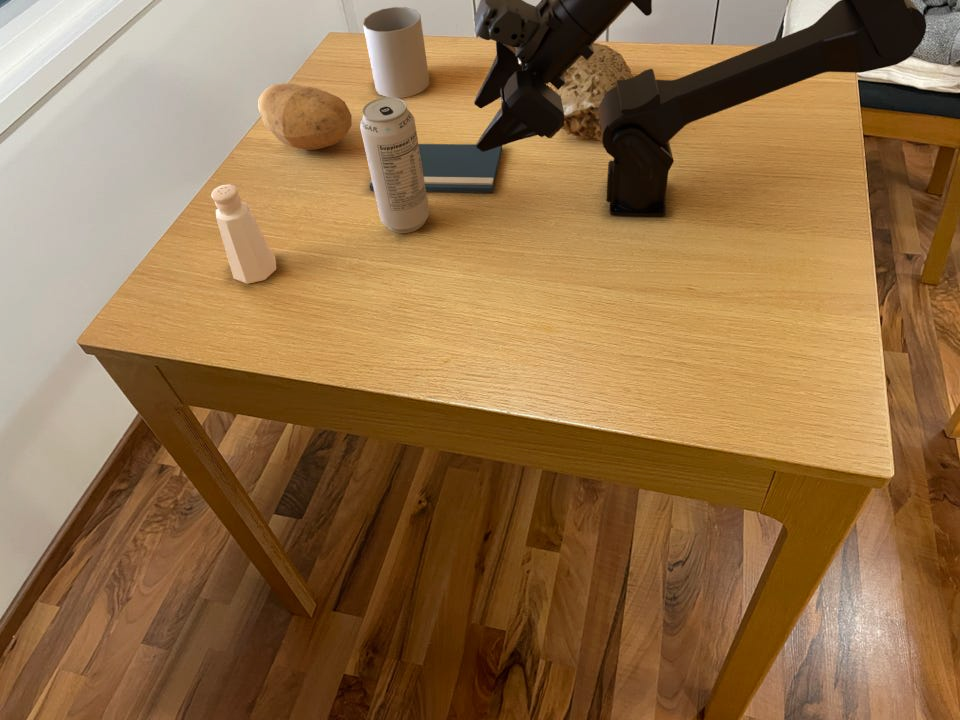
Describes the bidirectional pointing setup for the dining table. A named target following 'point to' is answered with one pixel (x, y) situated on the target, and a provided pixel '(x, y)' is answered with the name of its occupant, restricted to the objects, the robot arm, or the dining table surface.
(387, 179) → the energy drink can
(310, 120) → the potato
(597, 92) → the sponge
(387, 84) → the cup
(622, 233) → the dining table surface
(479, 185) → the book
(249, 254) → the pepper shaker
